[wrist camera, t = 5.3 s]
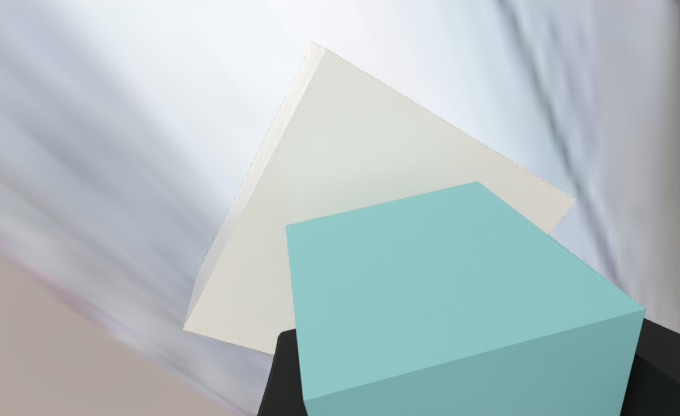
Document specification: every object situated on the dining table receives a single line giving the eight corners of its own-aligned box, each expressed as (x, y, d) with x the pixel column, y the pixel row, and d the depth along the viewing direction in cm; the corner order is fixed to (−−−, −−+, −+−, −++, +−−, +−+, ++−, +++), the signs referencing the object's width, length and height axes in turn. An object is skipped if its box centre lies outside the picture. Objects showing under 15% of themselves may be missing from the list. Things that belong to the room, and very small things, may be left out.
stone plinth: (520, 167, 15) (576, 199, 12) (394, 337, 18) (417, 394, 15) (312, 41, 12) (326, 49, 9) (198, 272, 15) (183, 329, 12)
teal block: (477, 180, 10) (645, 308, 6) (478, 325, 12) (598, 498, 8) (285, 225, 10) (303, 400, 5) (322, 366, 12) (357, 573, 8)
